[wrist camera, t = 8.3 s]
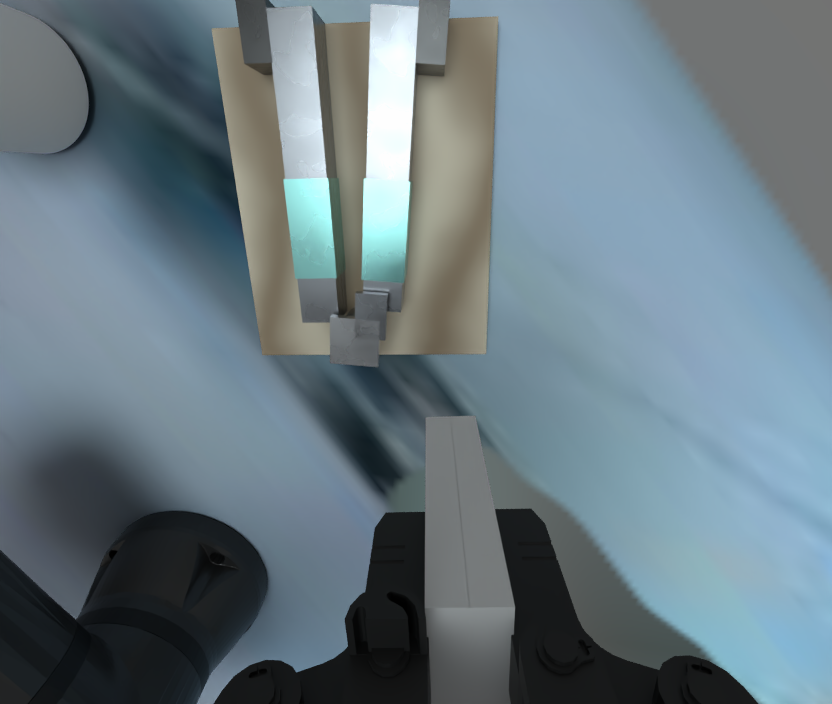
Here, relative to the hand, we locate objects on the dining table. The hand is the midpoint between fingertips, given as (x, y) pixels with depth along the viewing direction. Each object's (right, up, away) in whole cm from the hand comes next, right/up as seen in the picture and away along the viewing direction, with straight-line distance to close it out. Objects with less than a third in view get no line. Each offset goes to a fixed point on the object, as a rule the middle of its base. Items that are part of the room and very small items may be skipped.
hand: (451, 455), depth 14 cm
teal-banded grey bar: (-7, +14, +16) cm, 22 cm away
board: (-5, +13, +18) cm, 22 cm away
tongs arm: (-3, +13, +16) cm, 21 cm away
